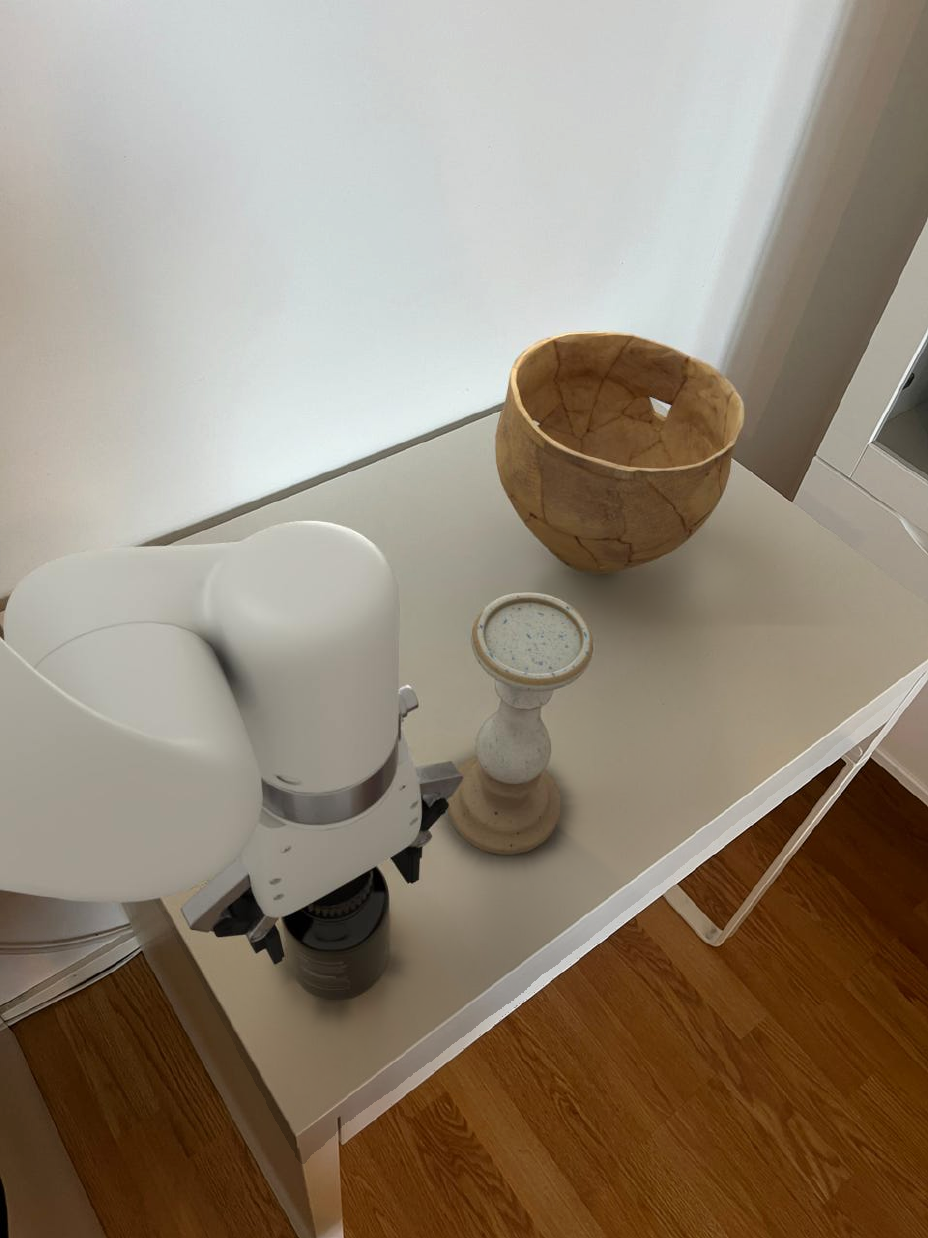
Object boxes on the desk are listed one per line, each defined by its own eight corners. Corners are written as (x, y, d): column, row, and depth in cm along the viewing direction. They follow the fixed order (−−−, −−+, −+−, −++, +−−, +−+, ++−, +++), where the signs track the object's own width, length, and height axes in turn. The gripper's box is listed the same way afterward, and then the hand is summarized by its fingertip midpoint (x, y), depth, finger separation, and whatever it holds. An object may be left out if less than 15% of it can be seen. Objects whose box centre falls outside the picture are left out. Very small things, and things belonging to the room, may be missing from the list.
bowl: (478, 491, 97) (494, 318, 82) (668, 495, 99) (718, 326, 84) (489, 643, 83) (511, 467, 68) (711, 645, 85) (779, 473, 70)
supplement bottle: (410, 953, 64) (414, 872, 55) (335, 1026, 61) (326, 952, 52) (343, 887, 67) (337, 800, 58) (268, 953, 63) (249, 871, 55)
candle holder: (503, 738, 76) (531, 563, 61) (582, 809, 72) (633, 640, 57) (423, 800, 72) (432, 627, 57) (502, 879, 68) (535, 716, 53)
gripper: (429, 627, 51) (422, 793, 63) (118, 772, 44) (180, 926, 56) (510, 724, 47) (485, 880, 60) (182, 900, 40) (233, 1034, 52)
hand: (337, 902), depth 58 cm, fingers open, 9 cm apart
